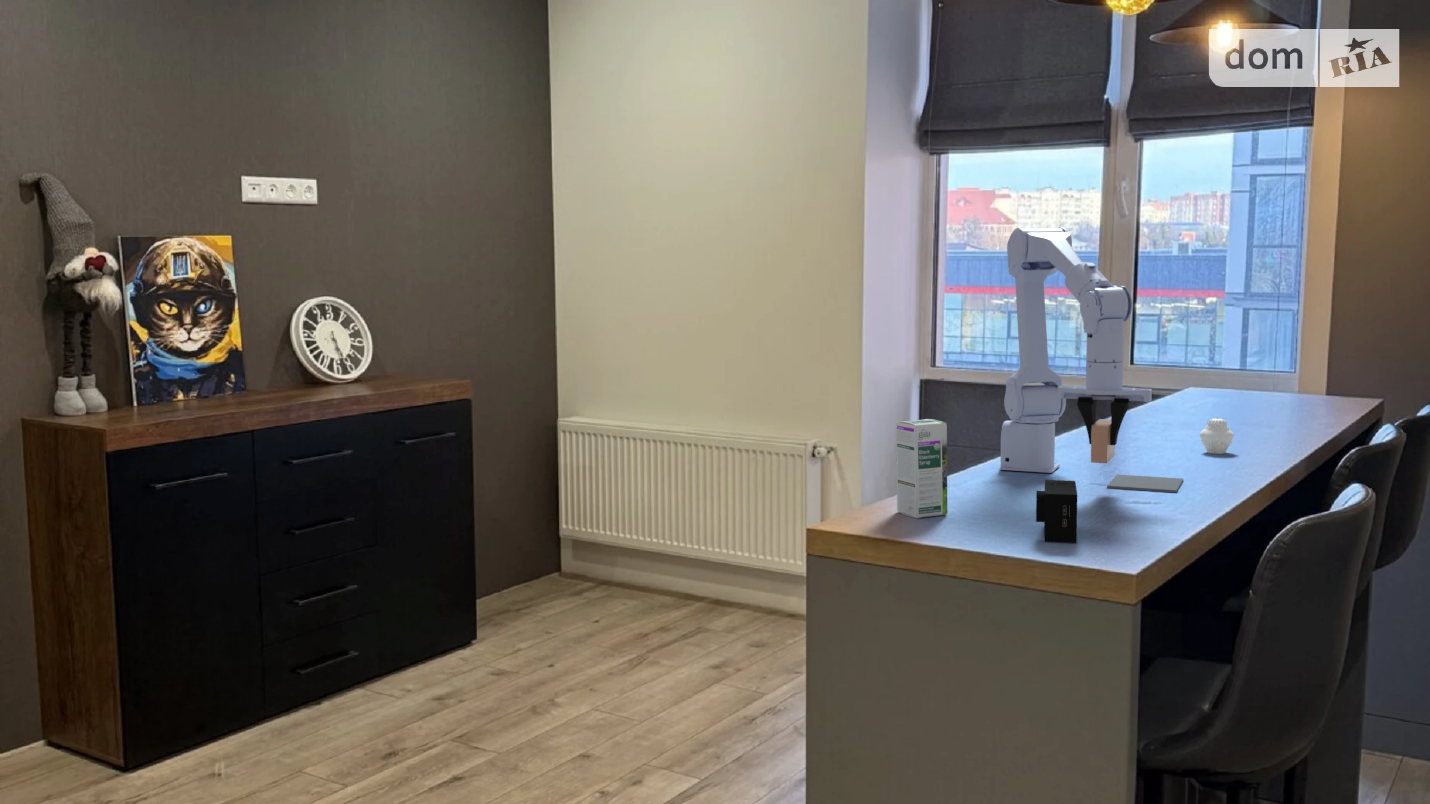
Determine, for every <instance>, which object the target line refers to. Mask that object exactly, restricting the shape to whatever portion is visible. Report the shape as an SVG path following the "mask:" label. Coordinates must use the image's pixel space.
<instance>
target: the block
mask: <svg viewBox="0 0 1430 804" xmlns="http://www.w3.org/2000/svg"><path fill="white" fill-rule="evenodd" d="M1110 436H1111V419H1108V418H1107V419H1106V418H1105V419H1103V418H1099V419H1098V420H1097V421H1096V423H1094V424H1093V425H1092V430H1091V444H1090V463H1094V464H1108V463H1109V462H1110V461H1111V460H1112V459H1113V458H1114V456H1115V455H1116V454H1115V452H1116V450H1115V449H1116V445H1110Z"/></svg>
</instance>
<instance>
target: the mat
mask: <svg viewBox="0 0 1430 804" xmlns="http://www.w3.org/2000/svg"><path fill="white" fill-rule="evenodd" d="M1183 483H1184V478H1181V477H1180V478H1178V477H1163V476H1148V475H1147V476H1146V475H1134V474H1133V475H1132V474H1119V473H1118V474H1116V475H1115V476H1114V477H1113V478H1112V480H1110V481H1109V483H1108V484H1107V485H1106V488H1107V489H1115V490H1116V489H1117V490H1128V491H1129V490H1131V491H1132V490H1133V491H1146V492H1148V491H1149V492H1161V493H1174V494H1175V493H1178V491H1179V489H1180V487H1181V485H1182V484H1183Z"/></svg>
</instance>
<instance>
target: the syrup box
mask: <svg viewBox="0 0 1430 804" xmlns="http://www.w3.org/2000/svg"><path fill="white" fill-rule="evenodd" d="M947 427H948V426H947V423H946V422H945V421H943V420H942V421H941V420H938V419H934V418H933V419H931V418H925V419H918V420H917V419H916V420H905V421H896V422H895V446H896V447H895V448H896V449H895V451H896V453H895V455H896V456H895V458H896V461H895V462H896V505H897V506H896V511H897V512H898V513H900V514H902V515H905V516H907V517H910V518H914V519H922V518H928V517H935V516H936V517H937V516H946V515H948V434H947V433H948V431H947V430H948V429H947Z"/></svg>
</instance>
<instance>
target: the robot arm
mask: <svg viewBox="0 0 1430 804" xmlns="http://www.w3.org/2000/svg"><path fill="white" fill-rule="evenodd" d="M1008 238H1009V239H1008V241H1007V243H1006V246H1007V247H1006V249H1007V250H1006V253H1007V267H1008V275H1010V276H1011V277H1014V283H1015V286H1014V287H1015V301H1016V302H1015V303H1016V316H1017V319H1016V321H1017V336H1018V352H1019V353H1018V355H1019V368H1018V369H1017V370H1016V371H1015V372H1014V373H1013V374H1011V376H1009V377H1008V378H1007V379H1006V382H1005V394H1004V401H1003V403H1004V404H1003V406H1004V410H1005V412H1006V415H1007V416H1008V418H1009V419H1010V420H1004V421H1003V423H1002V426H1001V432H1000V466H999V470H1001V471H1013V472H1015V471H1016V472H1030V473H1031V472H1033V473H1047V474H1050V473H1051V474H1052V473H1053V472H1054V471H1056V470H1057V469H1058V468H1060V466H1061V465H1060V463H1057V462H1056V463H1055V453H1056V452H1055V449H1056V448H1055V446H1056V445H1055V444H1056V442H1055V439H1056V422H1059V419H1060V418H1061V417H1062V415H1063V414H1064V412H1065V410H1066V408H1067V407H1066V406H1067V399H1069V400H1070V399H1072V400H1073V399H1074V400H1077V403H1076V406H1077V408H1078V410H1079V413H1080V415H1081V417H1082V419H1083V422H1084V425H1085V428H1086V431H1087V436H1088V437H1087V438H1088V441H1089V442H1088V444H1089V445H1091V430H1092V425H1093V424H1094V423H1096V422H1097V421H1096V420H1097V419H1096V417H1097V405H1098V400H1099V401H1101V400H1102V401H1104V400H1105V401H1112V402H1110V417H1111V419H1110V420H1111V436H1110V445H1115V446H1116V445H1117V442H1118V436H1119V432H1120V428H1121V426H1122V423H1123V420H1124V418H1125V415H1126V413H1127V411H1128V409H1129V408H1130V405H1131V403H1132V402H1143V403H1151V402H1152V399H1153V398H1152V396H1153V395H1152V393H1153V389H1152V388H1139V387H1138V388H1137V387H1127V386H1126V387H1124V385H1123V381H1124V379H1123V378H1124V377H1123V376H1124V342H1125V341H1124V339H1125V336H1124V335H1125V322H1127V321H1128V320H1129V318H1130V317H1131V314H1132V311H1133V298H1132V295H1131V293H1130V291H1129V290H1128V288H1127V286H1124V285H1115V284H1112V283H1111V282H1110V281H1109V280H1108V279H1107V278H1106V276H1105V275H1104V274H1103V273H1102V272H1101V271H1100V270H1099V269H1098V268H1097V265H1096V263H1094V262H1087V261H1084V262H1083V261H1082V260H1081V258H1080V256H1079V255H1078V254H1077V253H1076V251H1075V250H1074V248H1073V238H1072V233H1070V232H1069V231H1068V229H1067V228H1066V227H1064V226H1063V227H1062V226H1061V227H1049V228H1048V227H1047V228H1046V227H1043V228H1039V227H1037V228H1022V227H1017V228H1015V229H1014V230H1012V233H1010V236H1009V237H1008ZM1057 271H1059V272H1060V273H1061V274H1062V275H1063V276H1064V277H1065V278H1064V285H1065V287H1066V289H1067V290H1068V291H1069V292H1070V294H1072V296H1073V297H1074V298H1075V299H1076V301H1077V302H1079V311H1080V315H1081V318H1082V322H1083V326H1082V327H1083V328H1082V329H1083V332H1084V333H1086V354H1085V355H1086V356H1085V357H1086V358H1085V359H1086V361H1085V363H1086V364H1085V367H1086V368H1085V386H1084V385H1083V386H1082V385H1079V386H1078V385H1077V386H1075V385H1073V386H1072V385H1071V386H1069V385H1065V386H1064V385H1063V381H1062V377H1061V376H1060V375H1059V374H1058V373H1056V372H1055V371H1054V370H1053V369H1052V368H1050V367H1049V352H1048V334H1047V332H1048V331H1047V319H1046V318H1047V317H1046V302H1045V301H1046V300H1045V299H1046V298H1045V281H1046V280H1047V278H1048V277H1050V276H1051V275H1053V274H1055V273H1056V272H1057ZM1039 383H1040V384H1039ZM1025 384H1038V385H1025Z"/></svg>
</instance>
